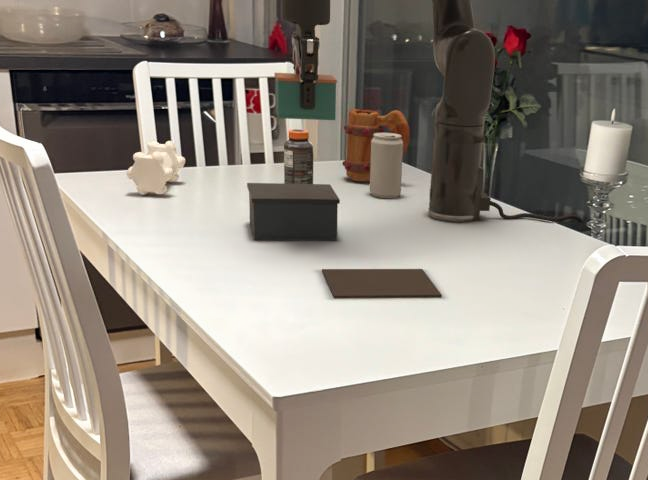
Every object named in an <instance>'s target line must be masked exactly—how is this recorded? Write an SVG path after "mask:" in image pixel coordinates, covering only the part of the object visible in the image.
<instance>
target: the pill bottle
mask: <svg viewBox="0 0 648 480" xmlns="http://www.w3.org/2000/svg"><path fill="white" fill-rule="evenodd" d="M309 135H310V134H309V130H307V129H299V128H297V129H296V128H295V129H293V128H292V129H289V130H288V139H287V140H286V141H285V142H284V143H283V171H284V172H283V177H284V178H283V179H284V183H283V184H314V144H313V143H312V142H311V141H310V140H309V138H310V136H309Z"/></svg>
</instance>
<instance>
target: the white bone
mask: <svg viewBox="0 0 648 480" xmlns="http://www.w3.org/2000/svg"><path fill="white" fill-rule="evenodd" d="M146 148H147V150H148V152H147V154H146V153H145V152H142V151H138V152H135V153H133V155H132V159H133V161H134V162H133V165H132V166H129V167H128V169H127V170H126V177H127V178H128V179H129V180H132V181H133V183H134V185H135V186H136V191H137V192H138V193H139V194H140V195H141V196H145V195H147V194H148V193H155V194H156V195H164V194H166V193H167V191H168V187H167V186H166V184H167V182H172V183H174V182H177V181H179V179H180V175H179V173H178V172H179V170H180V169H182V168H183V167H184V166H185V164H186V157H184V156H183V155H180V154H179V152H178V150H177V146H176V144H175V143H174V142H173V141H172V140H167V141H166V142H165V143H159V142H158V141H154V140H153V141H152V140H151V141H149V142H147V145H146Z"/></svg>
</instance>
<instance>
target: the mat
mask: <svg viewBox="0 0 648 480" xmlns="http://www.w3.org/2000/svg"><path fill="white" fill-rule="evenodd" d="M321 273H322V275H323V277H324V279H325V282H326V284H327V286H328V288H329V289H328V290H329V291H330V294H331V295H332V297H333V299H396V298H397V299H400V298H401V299H406V298H407V299H411V298H417V299H418V298H442V297H443V295H442V293H441V292H440V291H439V289H438V288H437V287H436V285H435V284H434V283H433V281H432V279H430V277H429V276H428V274H427V273H426V272H425V270H424V269H423V268H322V269H321Z"/></svg>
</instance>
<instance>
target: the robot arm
mask: <svg viewBox="0 0 648 480" xmlns="http://www.w3.org/2000/svg"><path fill="white" fill-rule="evenodd" d="M431 10H432V11H431V12H432V46H433V47H432V48H433V59H434V62H435V65H436V67H437V69H438V71H439V72H440V73H441V74H442V75H443V77H444V78H443V79H444V80H443V87H442V88H443V89H442V95H441V99H440V101H439V102H438V103H437V104H436V106H435V110H434V114H435V115H434V126H433V142H432V143H433V144H432V157H431V158H432V159H431V170H430V171H431V173H430V186H429V187H430V188H429V192H428V193H429V195H428V197H429V201H428V210H427V211H428V212H427V214H428V216H429V217H431V218H433V219H436V220H440V221H444V222H445V221H446V222H454V223H455V222H456V223H457V222H459V223H461V222H471V221H480V216H481V212H490V210H491V207H494V208H495V209H496V210H497V211H498V214H499V216H500V217H501V218H502V219H504V220H518V219H523V218H526V219H527V218H528V219H536V220H541V221H547V222H563V221H566V220H571V219H574V220H576V221H577V222H578V223H581V224H585V221H584V220H583V218H582V217H581V216H579V215H577V214H574V213H570V214H566V215H561V216H548V215H543V214H536V213H530V212H522V213H517V214H513V215H509V214H508V215H507V214H505V213H504V210H503V208H502V206H501V205H500V204H499V203H497V202H495V201H492V200H491V197H490V196H489V195H488V194H486V192H484V191H483V182H484V171H485V169H484V168H483V167H482V158H483V157H482V156H483V147H484V146H483V145H484V144H483V143H484V133H485V122H486V115H487V113H488V111H489V108H490V104H491V100H492V92H493V84H494V76H495V67H496V66H495V64H496V55H495V54H496V53H495V47H494V43H493V41H492V39H491V38H490V37H489V36H488V34H486V33H485V32H483V31H482V30H480V29H476V24H475V19H474V12H473V4H472V0H431ZM280 19H281V21H282V22H284V23H286V24H287V23H288V24H295V25H296V27H295V28H296V30H295V31H293V33H292V35H291V46H292V64H293V66H292V68H293V73H295V74H300V77H299V81H300V106H301V108H302V109H314V108H315V84H316V81H317V78H318V75H319V74H318V73H319V72H318V71H319V65H320V60H319V59H320V58H319V51H320V50H319V49H320V38H319V37H318V36H316V26H327V25H329V24H330V23H331V0H280Z"/></svg>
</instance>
